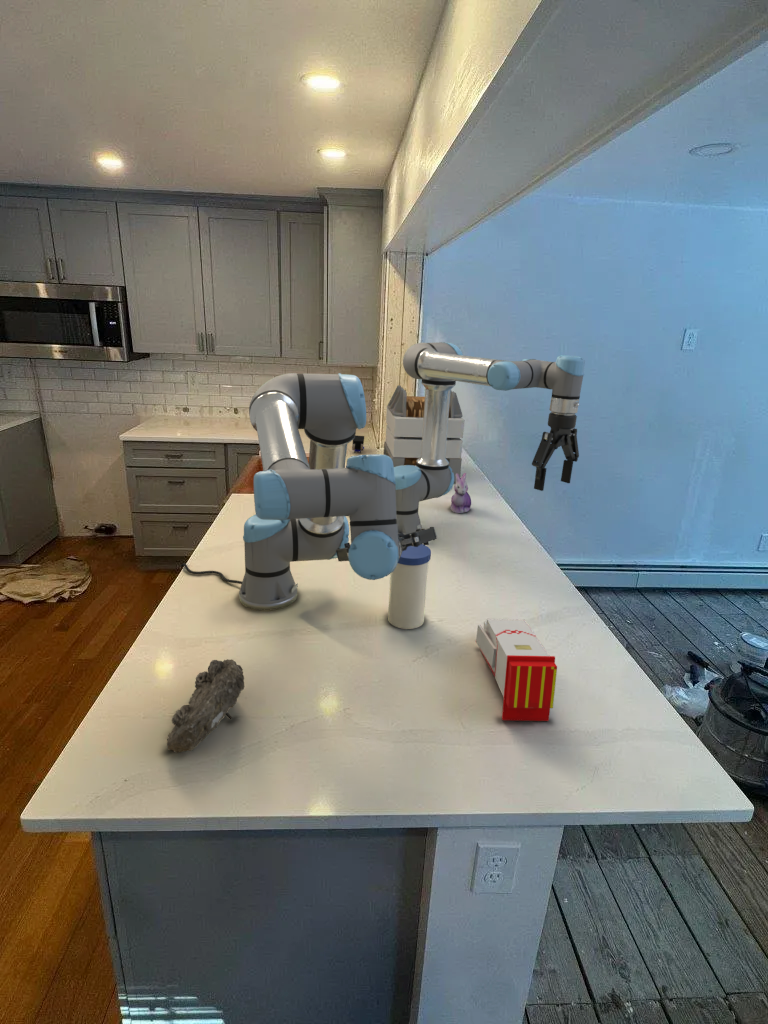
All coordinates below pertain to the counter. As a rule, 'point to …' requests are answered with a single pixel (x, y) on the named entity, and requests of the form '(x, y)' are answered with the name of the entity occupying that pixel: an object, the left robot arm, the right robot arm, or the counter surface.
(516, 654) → the toy
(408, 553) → the lid
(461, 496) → the figurine
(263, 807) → the counter surface
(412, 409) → the light grey boxy frame
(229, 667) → the fossil
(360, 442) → the figurine character
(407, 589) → the jar
